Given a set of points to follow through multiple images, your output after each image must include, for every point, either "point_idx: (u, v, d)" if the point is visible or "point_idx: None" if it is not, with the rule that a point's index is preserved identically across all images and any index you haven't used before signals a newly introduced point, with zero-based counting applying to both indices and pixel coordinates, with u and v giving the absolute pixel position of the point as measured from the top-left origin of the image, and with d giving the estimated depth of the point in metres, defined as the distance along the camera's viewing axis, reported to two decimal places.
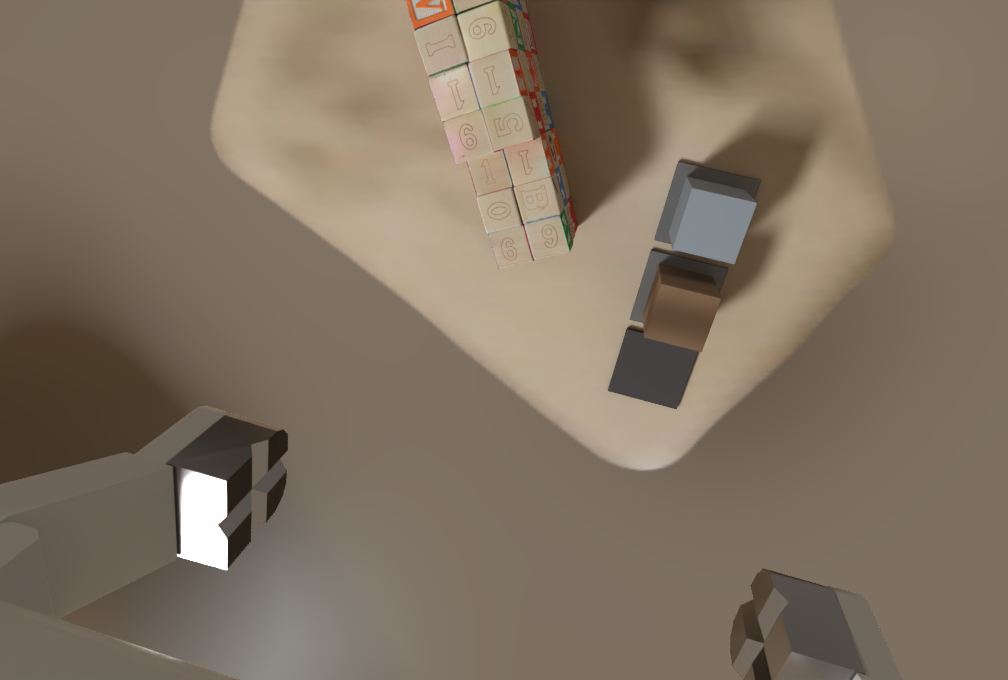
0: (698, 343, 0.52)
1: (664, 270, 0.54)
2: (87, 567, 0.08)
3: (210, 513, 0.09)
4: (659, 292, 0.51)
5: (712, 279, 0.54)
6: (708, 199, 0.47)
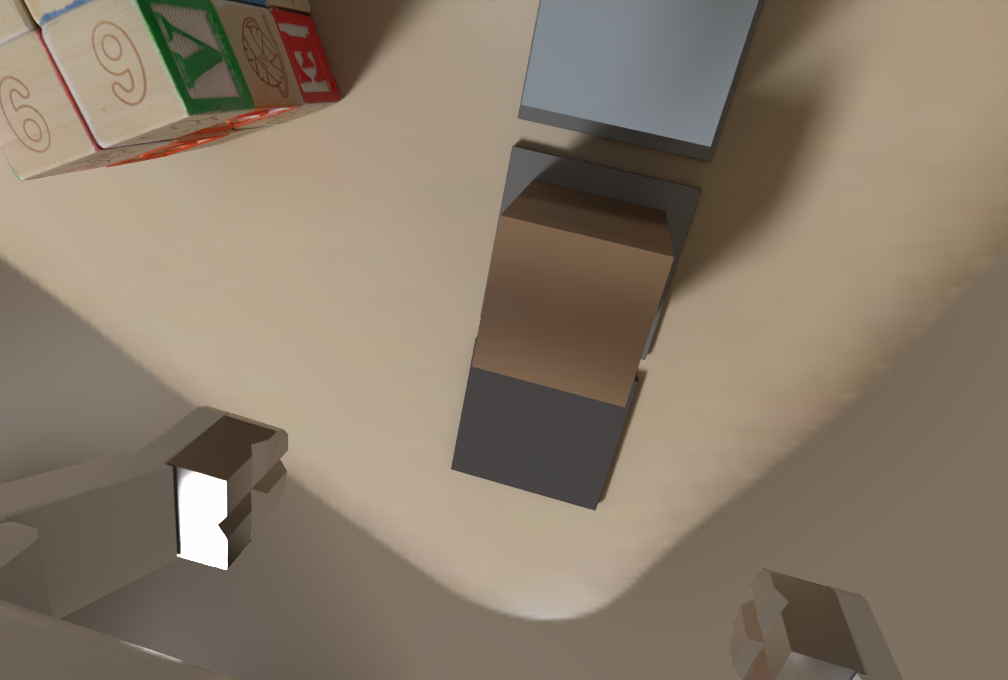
0: (615, 384, 0.19)
1: (538, 190, 0.21)
2: (86, 567, 0.08)
3: (210, 513, 0.09)
4: (498, 241, 0.18)
5: (661, 215, 0.21)
6: None
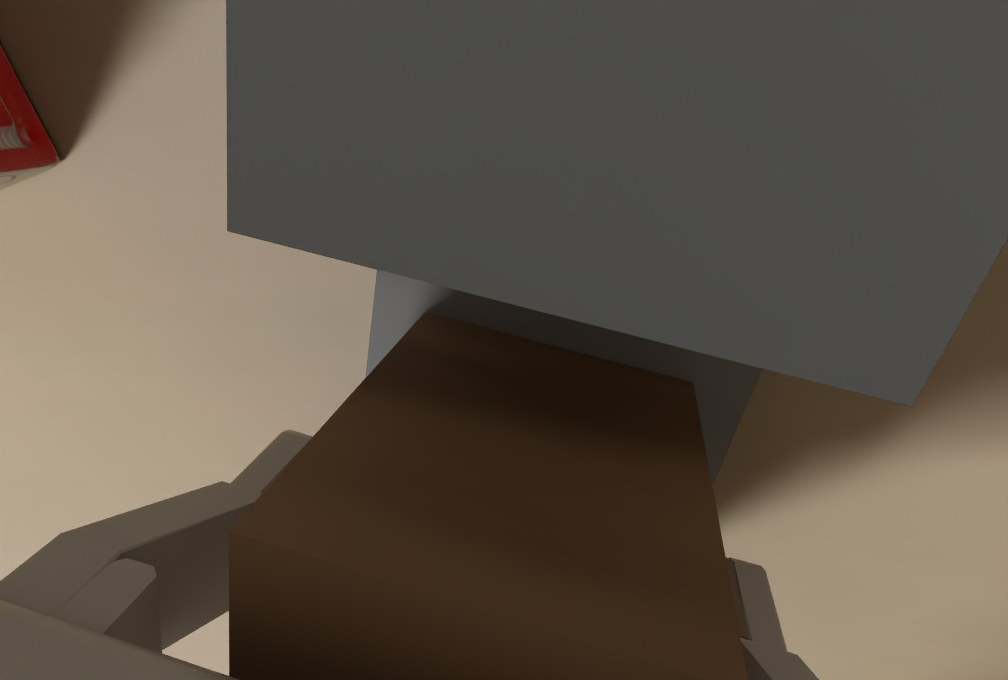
0: None
1: (419, 355, 0.10)
2: (187, 599, 0.08)
3: None
4: (237, 589, 0.06)
5: (687, 405, 0.10)
6: None
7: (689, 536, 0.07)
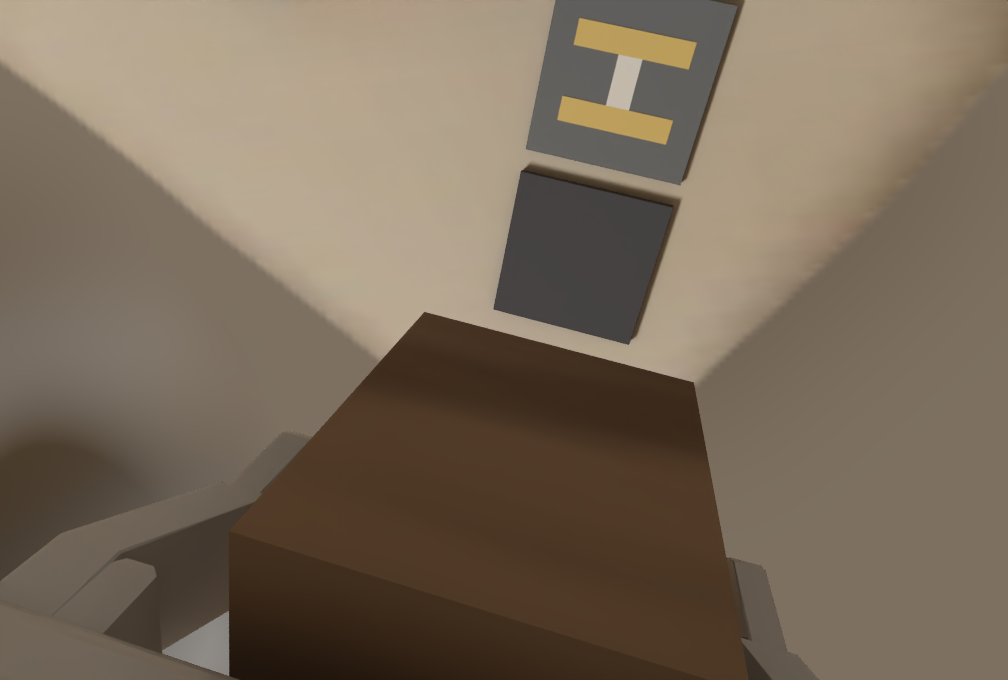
0: None
1: (419, 355, 0.10)
2: (187, 599, 0.08)
3: None
4: (237, 589, 0.06)
5: (688, 405, 0.10)
6: None
7: (689, 536, 0.07)
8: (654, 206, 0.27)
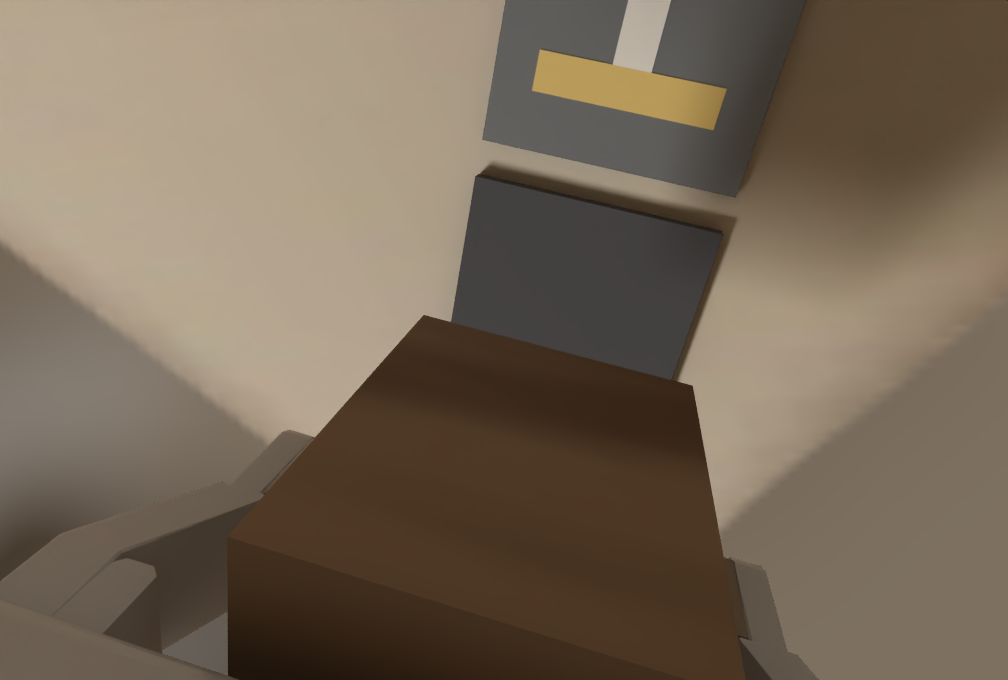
0: None
1: (418, 358, 0.10)
2: (188, 599, 0.08)
3: None
4: (236, 594, 0.06)
5: (686, 409, 0.10)
6: None
7: (688, 541, 0.07)
8: (692, 232, 0.17)
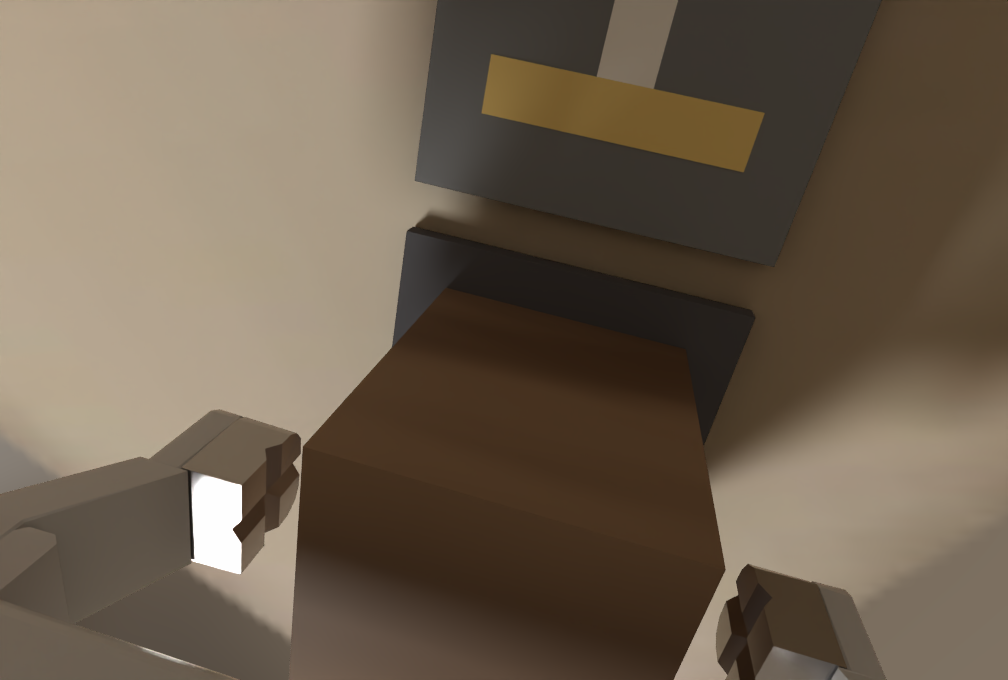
0: None
1: (443, 322, 0.11)
2: (102, 572, 0.08)
3: (224, 517, 0.09)
4: (306, 498, 0.08)
5: (680, 367, 0.11)
6: None
7: (679, 463, 0.08)
8: (711, 313, 0.12)
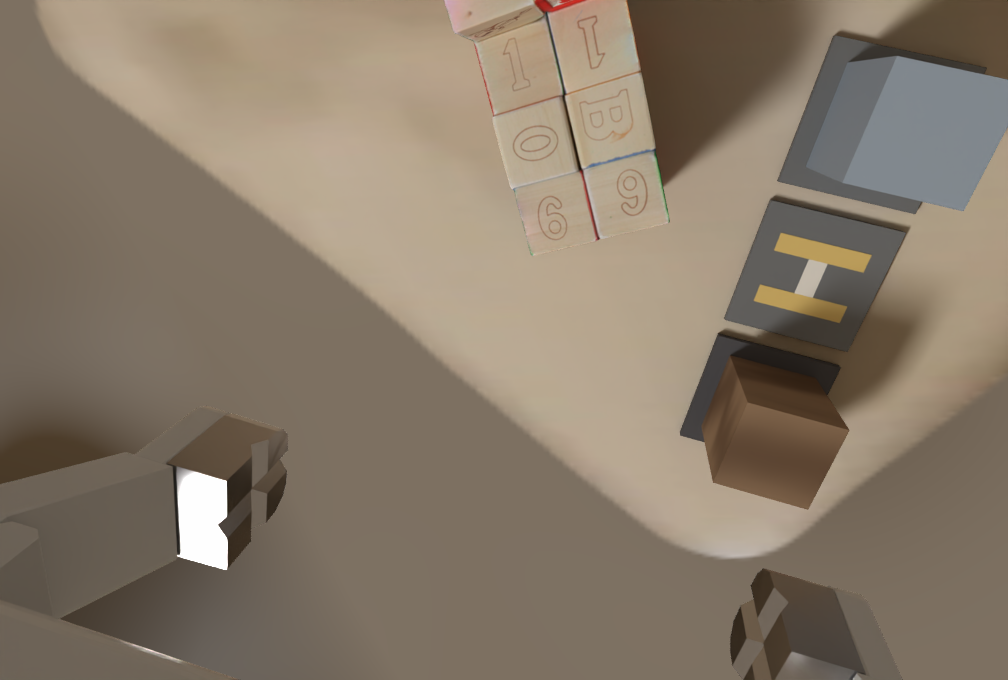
0: (804, 496, 0.32)
1: (742, 369, 0.34)
2: (86, 567, 0.08)
3: (210, 513, 0.09)
4: (743, 415, 0.31)
5: (817, 384, 0.34)
6: (928, 79, 0.24)
7: (830, 410, 0.32)
8: (825, 366, 0.35)
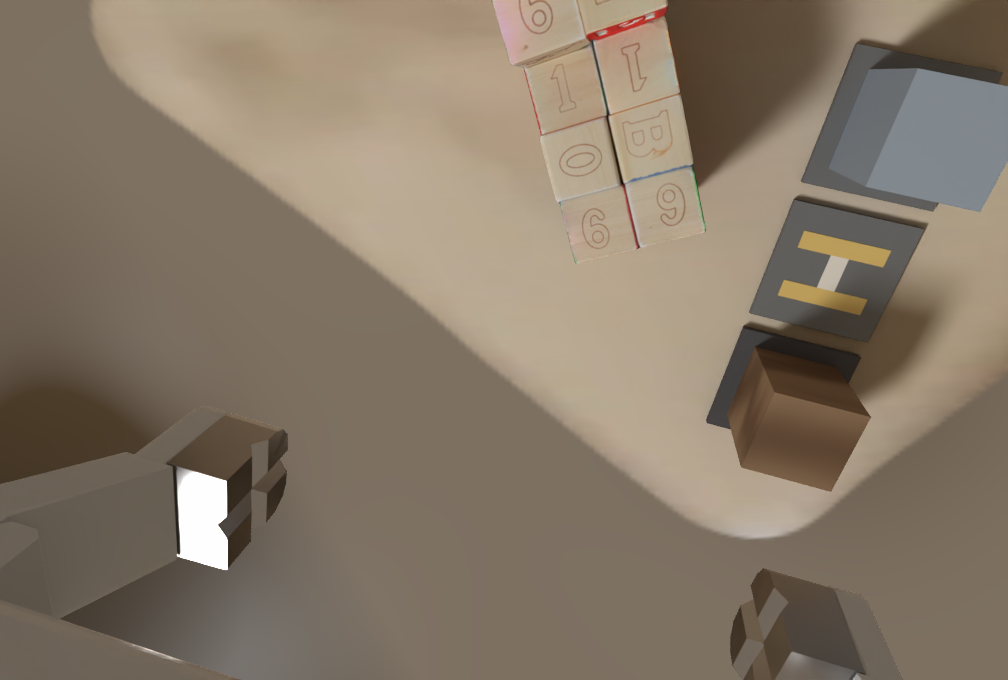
0: (827, 479, 0.34)
1: (767, 359, 0.36)
2: (87, 567, 0.08)
3: (210, 513, 0.09)
4: (770, 404, 0.33)
5: (838, 373, 0.36)
6: (947, 89, 0.26)
7: (851, 398, 0.34)
8: (846, 356, 0.37)
